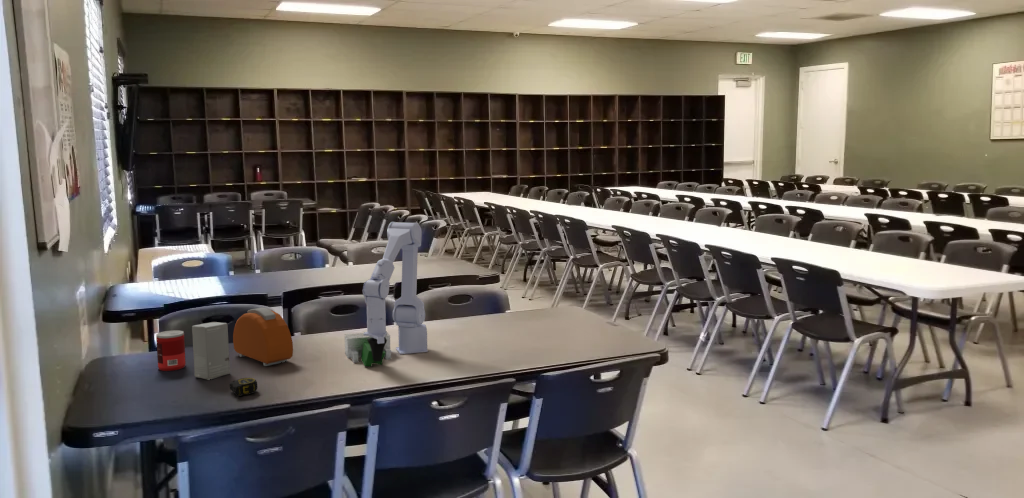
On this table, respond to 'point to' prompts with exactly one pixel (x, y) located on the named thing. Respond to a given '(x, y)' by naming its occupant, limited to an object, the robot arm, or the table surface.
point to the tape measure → (243, 386)
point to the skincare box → (211, 350)
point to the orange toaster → (263, 337)
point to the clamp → (369, 356)
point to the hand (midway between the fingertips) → (377, 360)
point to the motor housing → (356, 344)
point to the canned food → (170, 350)
